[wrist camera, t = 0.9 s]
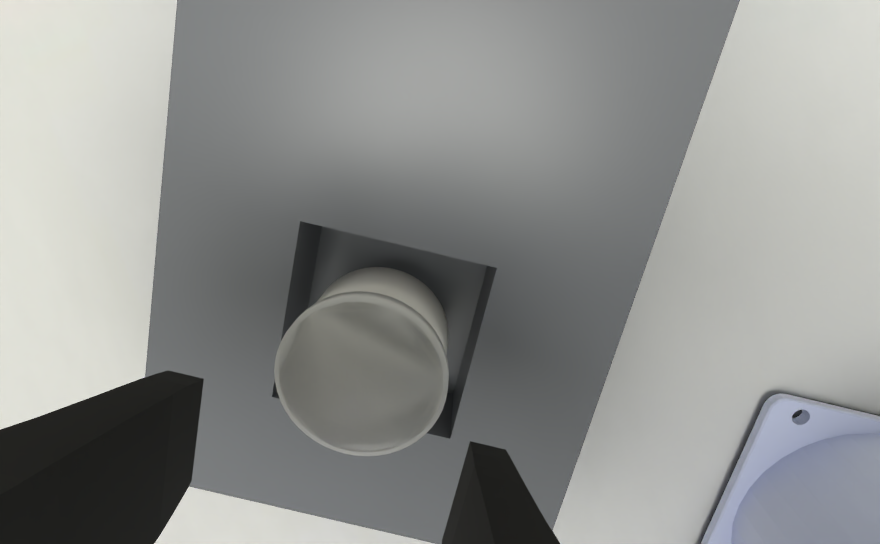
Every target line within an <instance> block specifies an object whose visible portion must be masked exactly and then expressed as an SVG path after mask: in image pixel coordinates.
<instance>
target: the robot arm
mask: <svg viewBox="0 0 880 544" xmlns="http://www.w3.org/2000/svg"><path fill="white" fill-rule="evenodd" d="M203 381H204V379H203V378H199V377H194V376H190V375H186V374H182V373H177V372H173V371H169V370H167V371H164V372H161V373H157V374H154V375H151V376H148V377H145V378H142V379H139V380H137V381H134V382H131V383H129V384H126V385H123V386H121V387H118V388H115V389H113V390H110V391H107V392H105V393H102V394H99V395H97V396H94V397H91V398H89V399H86V400H83V401H80V402H78V403H75V404H72V405H70V406H67V407H64V408H62V409H59V410H56V411H53V412H51V413H48V414H45V415H43V416H40V417H37V418H34V419H31V420H28V421H25V422H22V423H19V424H16V425H13V426H10V427H7V428H4V429H1V430H0V544H154V543H155V541H156V540H157V539H158V537H159V536H160V534H161V532H162V531H163V529H164V527H165V526H166V524H167V522H168V521H169V519H170V518H171V516H172V514H173V513H174V511H175V509H176V507H177V506H178V504H179V502H180V501H181V499H182V497H183V495H184V494H185V492H186V490H187V488H188V487H189V485H190V483H191V481H192V474H193V465H194V457H195V449H196V440H197V432H198V423H199V415H200V407H201V398H202V390H203ZM798 410H802V413H801V414H800V416H798V417H796V418H792V415H793V414H794V413H795V412H796V411H798ZM442 544H560V543H559V541H558V540H557V538H556V536H555V535H554V533H553V531H552V530H551V528H550V527H549V525H548V523H547V522H546V520H545V518H544V516H543V515H542V513H541V511H540V510H539V508H538V506H537V504H536V503H535V501H534V499H533V497H532V496H531V494H530V492H529V490H528V488H527V487H526V485H525V483H524V481H523V479H522V477H521V476H520V474H519V472H518V470H517V468H516V467H515V465H514V463H513V461H512V459H511V458H510V456H509V454H508V452H507V451H506V449H501V448H497V447H493V446H489V445H484V444H480V443H476V442H472V441H470V443H469V447H468V450H467V454H466V457H465V461H464V465H463V468H462V472H461V475H460V479H459V482H458V486H457V489H456V493H455V496H454V500H453V503H452V507H451V510H450V514H449V517H448V521H447V524H446V528H445V531H444V535H443V538H442ZM701 544H880V416H877V415H873V414H868V413H864V412H860V411H856V410H852V409H847V408H843V407H839V406H835V405H830V404H826V403H822V402H818V401H814V400H809V399H805V398H801V397H797V396H793V395H788V394H776V395H772V396H771V397H770V398H768V399H767V400H766V402H765V403H764V405H763V407H762V409H761V411H760V413H759V416H758V418H757V420H756V422H755V424H754V427H753V429H752V431H751V433H750V436H749V438H748V440H747V442H746V444H745V447H744V449H743V451H742V453H741V455H740V458H739V460H738V462H737V464H736V467H735V469H734V471H733V473H732V475H731V478H730V480H729V482H728V484H727V486H726V489H725V491H724V493H723V495H722V498H721V500H720V502H719V504H718V506H717V509H716V511H715V513H714V515H713V517H712V520H711V522H710V524H709V526H708V528H707V531H706V533H705V535H704V537H703V540H702V542H701Z"/></svg>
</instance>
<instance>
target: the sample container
mask: <svg viewBox="0 0 880 544" xmlns="http://www.w3.org/2000/svg"><path fill="white" fill-rule="evenodd" d="M447 347H448V323H447V319H446V315H445V312H444V310H443V307H442V305H441V304H440V302H439V300H438V299H437V297H436V296H435V295H434V293H433V292H432V291H431V290H430V289H429V288H428V287H427V286H426V285H425V284H424V283H422V282H421V281H420V280H418V279H417V278H415V277H413V276H412V275H410V274H407V273H405V272H403V271H400V270H396V269H392V268H386V267H368V268H362V269H358V270H355V271H352V272H349V273H347V274H346V275H344V276H342V277H340V278H339V279H337V280H336V281H335V282H334V283H332V284H331V285H330V286H329V287H328V288H327V290H326V291H325V292H324V293H323V295H322V296H321V297H320V298H319V300H318V301H317V302H316V303H315V304H313V305H312V306H310V307H309V308H308V309H306V310H305V311H304V312H303V313H302V314H301V315H300V316H299V317H298V318H297V319H296V320H295V322H294V323H293V324H292V325H291V327H290V328H289V329H288V330H287V332H286V333H285V335H284V337H283V339H282V340H281V343H280V345H279V348H278V350H277V354H276V359H275V368H274V374H275V384H276V389H277V393H278V395H279V398H280V401H281V403H282V405H283V407H284V409H285V411H286V412H287V414H288V415H289V417H290V418H291V420H292V421H293V422H294V423H295V424H296V426H297V427H298V428H299V429H300V430H302V431H303V432H304V433H305V434H306V435H307V436H309V437H310V438H311V439H313V440H314V441H316V442H318V443H319V444H321V445H323V446H325V447H327V448H330V449H332V450H334V451H338V452H341V453H344V454H350V455H355V456H379V455H385V454H389V453H393V452H396V451H399V450H401V449H404V448H406V447H408V446H410V445H411V444H413V443H415V442H416V441H418V440H419V439H420V438H421V437H423V436H424V435H425V434H426V433H427V432H428V431H429V430H430V429H431V428H432V427H433V425H434V424H435V422H436V421H437V419H438V418H439V416H440V414H441V412H442V410H443V407H444V404H445V401H446V397H447V391H448V380H449V368H448V360H447Z"/></svg>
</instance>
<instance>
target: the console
mask: <svg viewBox="0 0 880 544" xmlns="http://www.w3.org/2000/svg"><path fill="white" fill-rule="evenodd" d="M739 1H740V0H177V10H176V22H175V34H174V45H173V57H172V69H171V81H170V92H169V104H168V116H167V128H166V139H165V151H164V163H163V174H162V186H161V198H160V210H159V221H158V233H157V245H156V257H155V268H154V280H153V292H152V304H151V315H150V327H149V339H148V351H147V362H146V374H145V377H148V376H151V375H154V374H157V373H161V372H164V371H167V370H169V371H173V372H177V373H182V374H186V375H190V376H194V377H199V378H203V379H204V381H203V390H202V398H201V407H200V415H199V423H198V432H197V440H196V449H195V457H194V465H193V474H192V481H191V483H190V485H189V486H190V487H194V488H198V489H203V490H207V491H211V492H216V493H220V494H224V495H229V496H233V497H237V498H241V499H246V500H250V501H254V502H259V503H263V504H267V505H272V506H276V507H280V508H285V509H289V510H293V511H297V512H302V513H306V514H310V515H315V516H319V517H323V518H328V519H332V520H336V521H341V522H345V523H349V524H353V525H358V526H362V527H366V528H371V529H375V530H379V531H384V532H388V533H392V534H397V535H401V536H405V537H410V538H414V539H418V540H422V541H427V542H431V543H435V544H442V538H443V535H444V531H445V528H446V524H447V521H448V517H449V514H450V510H451V507H452V503H453V500H454V496H455V493H456V489H457V486H458V482H459V479H460V475H461V472H462V468H463V465H464V461H465V457H466V454H467V450H468V447H469V443H470V441H472V442H476V443H480V444H484V445H489V446H493V447H497V448H501V449H506V451H507V452H508V454H509V456H510V458H511V459H512V461H513V463H514V465H515V467H516V468H517V470H518V472H519V474H520V476H521V477H522V479H523V481H524V483H525V485H526V487H527V488H528V490H529V492H530V494H531V496H532V497H533V499H534V501H535V503H536V504H537V506H538V508H539V510H540V511H541V513H542V515H543V516H544V518H545V520H546V522H547V523H548V525H549V527H550V528H551V530H553V527H554V524H555V522H556V519H557V516H558V513H559V510H560V508H561V505H562V502H563V499H564V496H565V493H566V491H567V488H568V485H569V482H570V479H571V476H572V474H573V471H574V468H575V465H576V462H577V459H578V457H579V454H580V451H581V448H582V445H583V442H584V440H585V437H586V434H587V431H588V428H589V425H590V423H591V420H592V417H593V414H594V411H595V408H596V406H597V403H598V400H599V397H600V394H601V392H602V389H603V386H604V383H605V380H606V377H607V375H608V372H609V369H610V366H611V363H612V360H613V358H614V355H615V352H616V349H617V346H618V343H619V341H620V338H621V335H622V332H623V329H624V326H625V324H626V321H627V318H628V315H629V312H630V309H631V307H632V304H633V301H634V298H635V295H636V292H637V290H638V287H639V284H640V281H641V278H642V275H643V273H644V270H645V267H646V264H647V261H648V259H649V256H650V253H651V250H652V247H653V244H654V242H655V239H656V236H657V233H658V230H659V227H660V225H661V222H662V219H663V216H664V213H665V210H666V208H667V205H668V202H669V199H670V196H671V193H672V191H673V188H674V185H675V182H676V179H677V176H678V174H679V171H680V168H681V165H682V162H683V159H684V157H685V154H686V151H687V148H688V145H689V142H690V140H691V137H692V134H693V131H694V128H695V126H696V123H697V120H698V117H699V114H700V111H701V109H702V106H703V103H704V100H705V97H706V94H707V92H708V89H709V86H710V83H711V80H712V77H713V75H714V72H715V69H716V66H717V63H718V60H719V58H720V55H721V52H722V49H723V46H724V43H725V41H726V38H727V35H728V32H729V29H730V26H731V24H732V21H733V18H734V15H735V12H736V10H737V7H738V4H739ZM368 267H386V268H392V269H396V270H400V271H403V272H405V273H407V274H410V275H412V276H413V277H415V278H417V279H418V280H420V281H421V282H422V283H424V284H425V285H426V286H427V287H428V288H429V289H430V290H431V291H432V292H433V293H434V295H435V296H436V297H437V299H438V300H439V302H440V304H441V305H442V307H443V310H444V312H445V315H446V319H447V323H448V347H447V360H448V368H449V380H448V391H447V397H446V401H445V404H444V407H443V410H442V412H441V414H440V416H439V418H438V419H437V421H436V422H435V424H434V425H433V427H432V428H431V429H430V430H429V431H428V432H427V433H426V434H425V435H424V436H423V437H421V438H420V439H419V440H418V441H416V442H415V443H413V444H411V445H410V446H408V447H406V448H404V449H401V450H399V451H396V452H393V453H389V454H385V455H379V456H355V455H350V454H344V453H341V452H338V451H334V450H332V449H330V448H327V447H325V446H323V445H321V444H319V443H318V442H316V441H314V440H313V439H311V438H310V437H309V436H307V435H306V434H305V433H304V432H303V431H302V430H300V429H299V428H298V427H297V426H296V424H295V423H294V422H293V421H292V420H291V418H290V417H289V415H288V414H287V412H286V411H285V409H284V407H283V405H282V403H281V401H280V398H279V395H278V393H277V389H276V384H275V374H274V368H275V359H276V354H277V350H278V348H279V345H280V343H281V340H282V339H283V337H284V335H285V333H286V332H287V330H288V329H289V328H290V327H291V325H292V324H293V323H294V322H295V320H296V319H297V318H298V317H299V316H300V315H301V314H302V313H303V312H304V311H305V310H306V309H308V308H309V307H310V306H312V305H313V304H315V303H316V302H317V301H318V300H319V298H320V297H321V296H322V295H323V293H324V292H325V291H326V290H327V288H328V287H329V286H330V285H331V284H332V283H334V282H335V281H336V280H337V279H339V278H340V277H342V276H344V275H346V274H347V273H349V272H352V271H355V270H358V269H362V268H368Z"/></svg>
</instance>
